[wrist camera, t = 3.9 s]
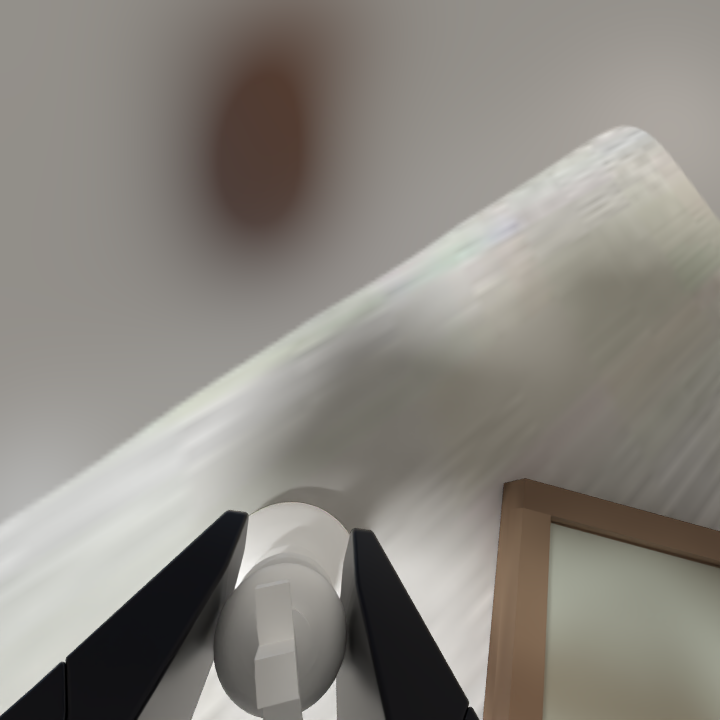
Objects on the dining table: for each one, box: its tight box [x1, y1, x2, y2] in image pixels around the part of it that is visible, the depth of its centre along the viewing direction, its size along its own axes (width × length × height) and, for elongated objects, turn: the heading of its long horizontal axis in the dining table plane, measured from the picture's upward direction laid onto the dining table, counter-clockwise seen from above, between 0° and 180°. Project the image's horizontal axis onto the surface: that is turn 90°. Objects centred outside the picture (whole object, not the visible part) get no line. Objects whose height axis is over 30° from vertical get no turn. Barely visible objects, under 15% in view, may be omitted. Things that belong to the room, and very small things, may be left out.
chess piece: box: [213, 502, 350, 720], centre depth 9 cm, size 5×5×10 cm
